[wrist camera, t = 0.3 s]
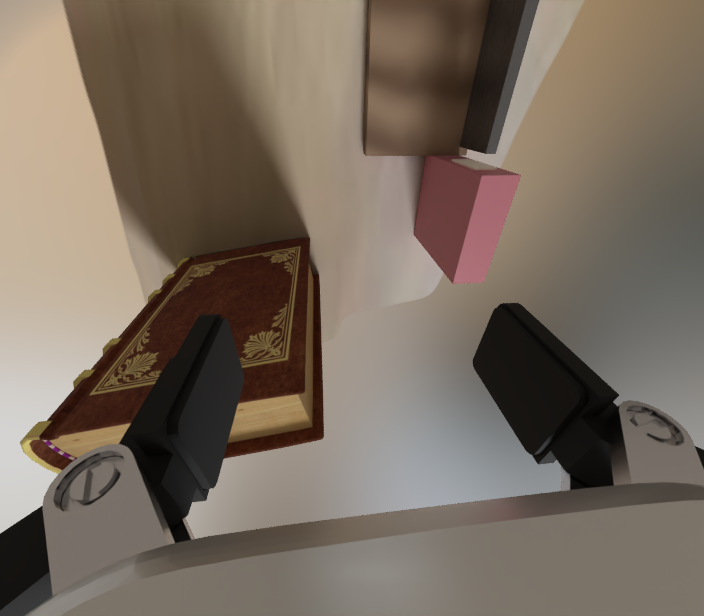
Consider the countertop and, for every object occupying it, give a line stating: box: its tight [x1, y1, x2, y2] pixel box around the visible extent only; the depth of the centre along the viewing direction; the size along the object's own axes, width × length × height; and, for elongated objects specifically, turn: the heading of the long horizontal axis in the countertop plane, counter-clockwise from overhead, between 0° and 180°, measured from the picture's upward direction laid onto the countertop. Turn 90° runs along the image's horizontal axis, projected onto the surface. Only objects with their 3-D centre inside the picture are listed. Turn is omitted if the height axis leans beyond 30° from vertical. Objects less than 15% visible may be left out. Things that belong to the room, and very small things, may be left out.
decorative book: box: [20, 238, 324, 474], centre depth 34 cm, size 22×8×30 cm, turn 98°
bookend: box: [460, 0, 539, 154], centre depth 30 cm, size 14×1×7 cm, turn 179°
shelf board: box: [364, 0, 491, 156], centre depth 33 cm, size 16×14×2 cm
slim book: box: [414, 155, 521, 284], centre depth 36 cm, size 12×4×16 cm, turn 179°
